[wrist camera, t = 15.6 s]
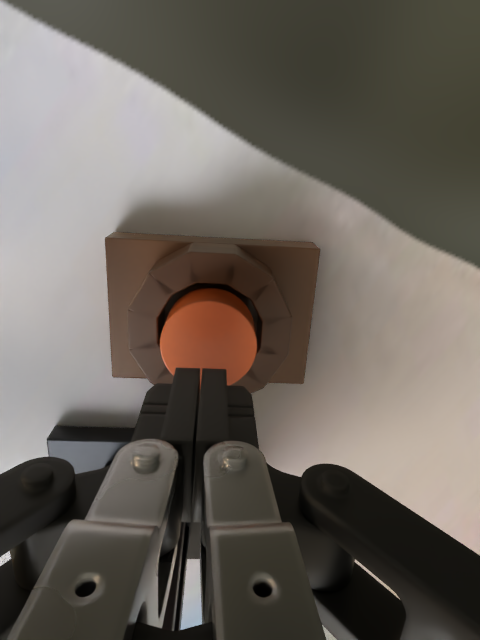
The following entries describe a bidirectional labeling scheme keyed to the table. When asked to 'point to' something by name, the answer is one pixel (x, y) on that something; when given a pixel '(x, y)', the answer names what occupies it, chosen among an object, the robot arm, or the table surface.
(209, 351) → the button
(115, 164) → the table surface
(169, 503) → the robot arm
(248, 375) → the button block
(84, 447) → the bracket
